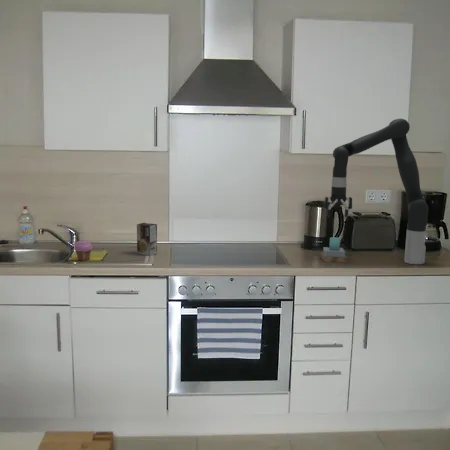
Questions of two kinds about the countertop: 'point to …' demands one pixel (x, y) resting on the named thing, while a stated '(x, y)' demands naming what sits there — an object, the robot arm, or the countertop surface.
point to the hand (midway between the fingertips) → (337, 216)
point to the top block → (333, 252)
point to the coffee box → (147, 239)
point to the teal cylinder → (334, 243)
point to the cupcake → (83, 250)
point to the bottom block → (333, 258)
